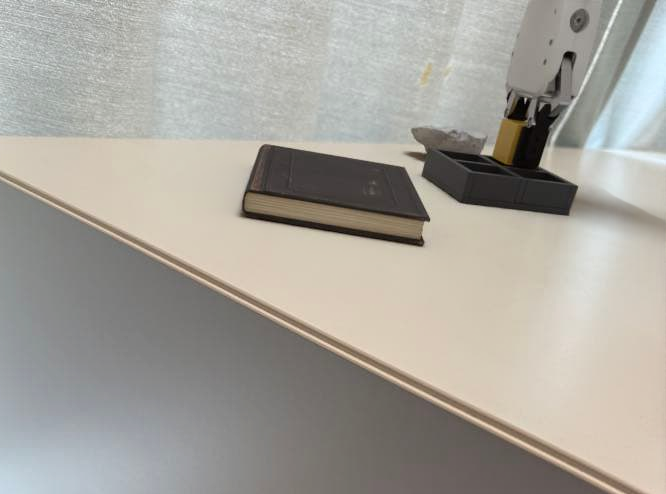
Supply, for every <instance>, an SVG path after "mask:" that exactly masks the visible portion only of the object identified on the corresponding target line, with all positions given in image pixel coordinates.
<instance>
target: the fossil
mask: <svg viewBox="0 0 666 494" xmlns="http://www.w3.org/2000/svg"><path fill="white" fill-rule="evenodd" d="M410 132H411V134H412V136H413V139H414V140H415V141H416V142H417V143H419V144H421V145H422V146H423V147H424V152H426V153H427V150H428V147H430V148H437V149H445V150H452V151H460V152H467V153H475V154H481V155H482V151H483V150H484V148H485V144H486V143H487V139H488V135H487V133H485V132H480V131H468V130H465V129H461V128H459V127H455V126H438V127H437V126H434V125H421V126H412V127H411V129H410Z"/></svg>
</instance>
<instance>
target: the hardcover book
mask: <svg viewBox="0 0 666 494" xmlns="http://www.w3.org/2000/svg"><path fill="white" fill-rule="evenodd" d="M241 211H242V213H243V214H244V215H245V216H246V217H248V218H252V219H258V220H265V221H271V222H275V223H276V222H277V223H283V224H289V225H296V226H302V227H306V228H307V227H308V228H313V229H314V228H315V229H318V230H319V229H320V230H326V231H332V232H338V233H344V234H350V235H357V236H363V237H369V238H374V239H380V240H386V241H387V240H388V241H394V242H398V243H399V242H400V243H405V244H412V245H416V246H417V245H418V246H425V240H424V237H423V235H422V234H423V232H424V231H423V230H424V225H425V222H426V223H430V222H431V217H430V215H429V212H428V211H427V209H426V207H425V204H424V203H423V201H422V199H421V197H420V195H419V193H418V191H417V189H416V187H415V185H414V183H413V181H412V178H411V176H410V174H409V173H408V171H407V168H406V167H405V166H400V165H394V164H389V163H383V162H376V161H371V160H364V159H360V158H352V157H348V156H347V157H346V156H342V155H341V156H340V155H335V154H330V153H322V152H317V151H311V150H305V149H299V148H293V147H287V146H280V145H276V144H269V143H263V145H261V146H260V147H259V149H258V152H257V154H256V157H255V160H254V164H253V167H252V169H251V173H250V175H249V178H248V180H247V184H246V186H245V190H244V193H243V196H242V200H241Z"/></svg>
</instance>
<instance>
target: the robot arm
mask: <svg viewBox="0 0 666 494" xmlns="http://www.w3.org/2000/svg"><path fill="white" fill-rule="evenodd" d="M602 7H603V0H528V2H527V6H526V8H525V10H524V13H523V17H522V19H521V23H520V25H519V29H518V32H517V35H516V38H515V42H514V44H513V48H512V51H511V55H510V59H509V63H508V67H507V72H506V76H505V80H506V82H505V92H506V97H505V98H506V106H505V109H504V110H503V111H504V112H503V118H504V119H511V120H518V121H525V122H527V127H524V126H522V130H521V133H520V137H519V140H518V143H517V147H516V150H515V154H514V157H513V160H512V163H513V165H515V166H522V167H530V168H537V167H538V166H539V167H540V165H541V161H542V158H543V155H544V152H543V151H545V149H546V145H547V142H548V139H547V138H549V136H548V135H550V133H549V132H551V131H552V130H553V129H554V127H555V124H556V123H555V122H556V120H557V119H558V118H559V117H560V115H561V114H562V113H563V112H564V111H565V110H566V109H567V108H569V106H570V105H571V102H573V101H574V100H575V99H577V97H579V94H580V91H581V89H582V87H583V82H584V79H585V76H586V72H587V69H588V65H589V62H590V58H591V54H592V51H593V48H594V44H595V41H596V40H595V39H596V35H597V32H598V27H599V24H600V23H599V22H600V16H601V12H602ZM545 95H546V96H545ZM541 104H542V105H543V106H542V107H541ZM546 141H547V142H546ZM542 154H543V155H542ZM541 157H542V158H541Z"/></svg>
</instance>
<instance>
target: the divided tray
mask: <svg viewBox="0 0 666 494" xmlns="http://www.w3.org/2000/svg"><path fill="white" fill-rule="evenodd" d="M421 176H422V177H423V178H425V179H426V180H427V181H429V182H431V183H432V184H433V185H434V186H437V187H438V188H439V189H441V190H442V191H443V192H445V193H447V194H448V195H449V196H451V197H452V198H453V199H455V200H456V201H458V202H460V203H462V204H469V205H477V206H478V205H479V206H486V207H487V206H488V207H496V208H502V209H512V210H521V211H529V212H537V213H546V214H555V215H563V216H569V215H570V212H571V209H572V206H573V204H574V200H575V198H576V195H577V192H578V190H579V185H577V184H575V183H573V182H571V181H569V180H567V179H565V178H563V177H561V176H559V175H557V174H556V173H554V172H551V171H549V170H547V169H546V168H543V167H541V166H539V167H538V169H537V168H529V167H521V166H513V165H506V164H504V163H502V162H500V161H498V160H496V159H494V158H493V157H492V155H490V154H489V155H488V154H482V153H481V154H475V153H467V152H460V151H452V150H445V149H437V148H430V147H428V150H427V152H426V154H425V158H424V163H423V166H422V171H421Z"/></svg>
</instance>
